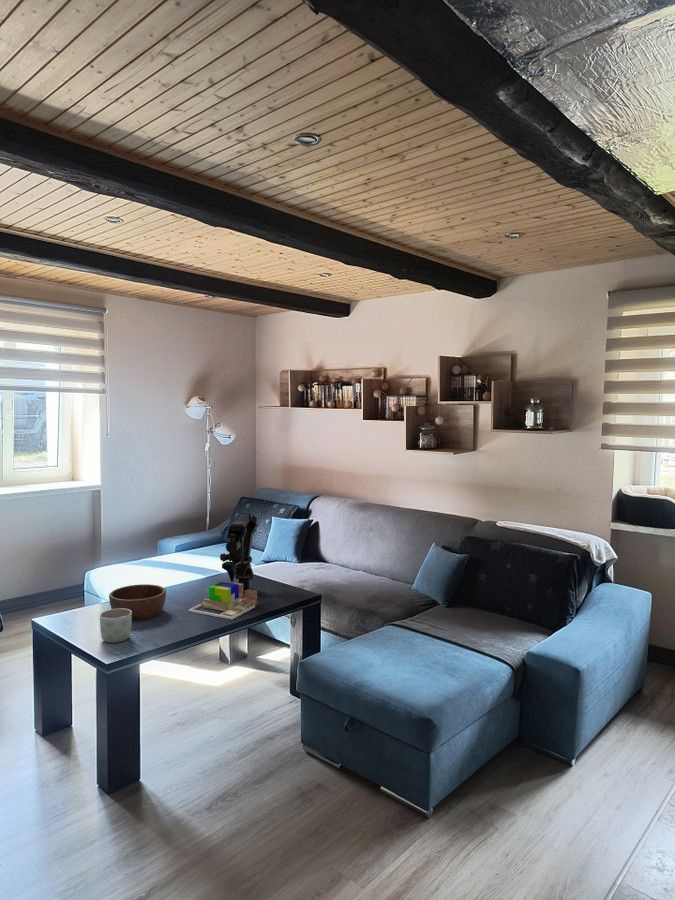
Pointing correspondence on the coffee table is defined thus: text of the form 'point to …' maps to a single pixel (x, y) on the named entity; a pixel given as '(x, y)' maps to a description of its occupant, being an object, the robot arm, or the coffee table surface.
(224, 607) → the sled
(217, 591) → the puzzle toy
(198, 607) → the frame
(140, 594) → the wooden bowl
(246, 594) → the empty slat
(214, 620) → the coffee table surface
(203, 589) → the coffee table surface
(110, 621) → the planter
